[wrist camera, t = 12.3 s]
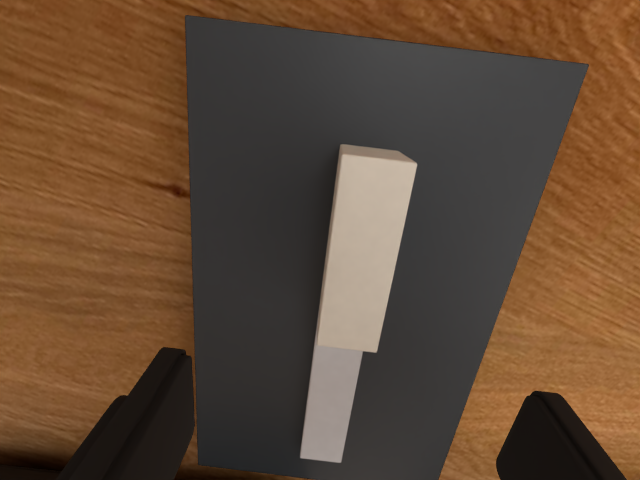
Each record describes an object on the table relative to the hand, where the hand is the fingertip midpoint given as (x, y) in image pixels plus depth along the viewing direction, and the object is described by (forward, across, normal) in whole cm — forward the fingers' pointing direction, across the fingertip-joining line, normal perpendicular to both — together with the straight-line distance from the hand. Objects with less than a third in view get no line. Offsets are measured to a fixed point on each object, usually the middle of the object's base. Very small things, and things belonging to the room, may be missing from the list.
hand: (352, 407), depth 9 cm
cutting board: (+10, 0, +3) cm, 10 cm away
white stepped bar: (+8, 0, +3) cm, 8 cm away
